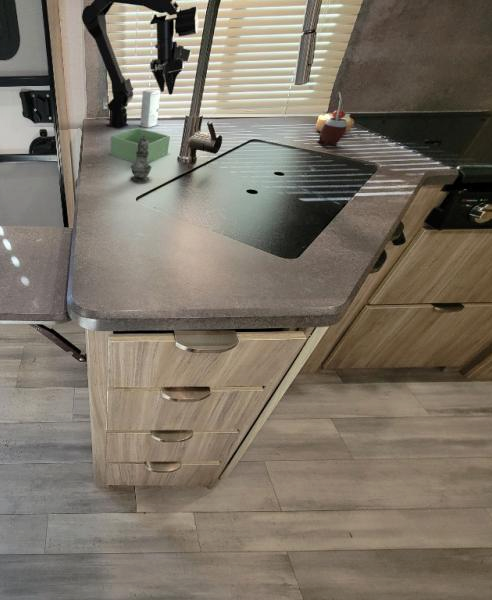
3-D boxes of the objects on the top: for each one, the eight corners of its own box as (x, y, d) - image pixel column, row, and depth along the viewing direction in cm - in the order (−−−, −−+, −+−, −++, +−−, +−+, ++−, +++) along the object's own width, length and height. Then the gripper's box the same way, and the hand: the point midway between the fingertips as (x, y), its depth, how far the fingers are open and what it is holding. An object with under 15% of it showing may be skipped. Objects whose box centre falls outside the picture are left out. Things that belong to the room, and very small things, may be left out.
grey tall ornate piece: (126, 177, 95) (129, 133, 87) (143, 174, 97) (148, 130, 89) (135, 185, 91) (139, 139, 83) (154, 181, 93) (159, 136, 85)
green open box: (110, 154, 109) (110, 136, 105) (135, 144, 116) (137, 127, 112) (142, 165, 102) (144, 146, 98) (167, 154, 109) (170, 136, 106)
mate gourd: (333, 149, 112) (356, 99, 102) (309, 143, 117) (330, 95, 107) (341, 144, 116) (365, 95, 106) (318, 139, 120) (339, 91, 110)
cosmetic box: (147, 128, 131) (151, 92, 123) (139, 125, 133) (142, 91, 125) (157, 124, 134) (161, 90, 126) (149, 122, 136) (152, 88, 128)
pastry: (311, 133, 125) (322, 107, 119) (315, 126, 132) (325, 100, 126) (347, 139, 120) (360, 111, 114) (348, 130, 128) (361, 104, 122)
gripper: (199, 33, 103) (197, 91, 113) (178, 35, 117) (178, 86, 127) (165, 40, 102) (166, 97, 112) (148, 41, 117) (150, 92, 127)
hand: (166, 93), depth 120 cm, fingers open, 9 cm apart
